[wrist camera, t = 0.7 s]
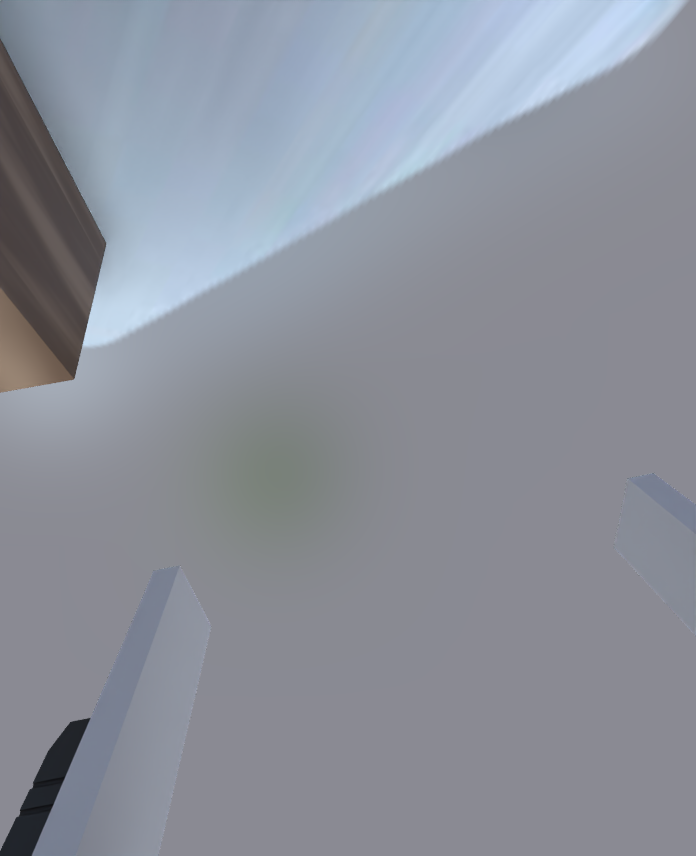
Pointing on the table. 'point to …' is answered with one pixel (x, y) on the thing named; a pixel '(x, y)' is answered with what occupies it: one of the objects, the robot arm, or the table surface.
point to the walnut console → (40, 248)
